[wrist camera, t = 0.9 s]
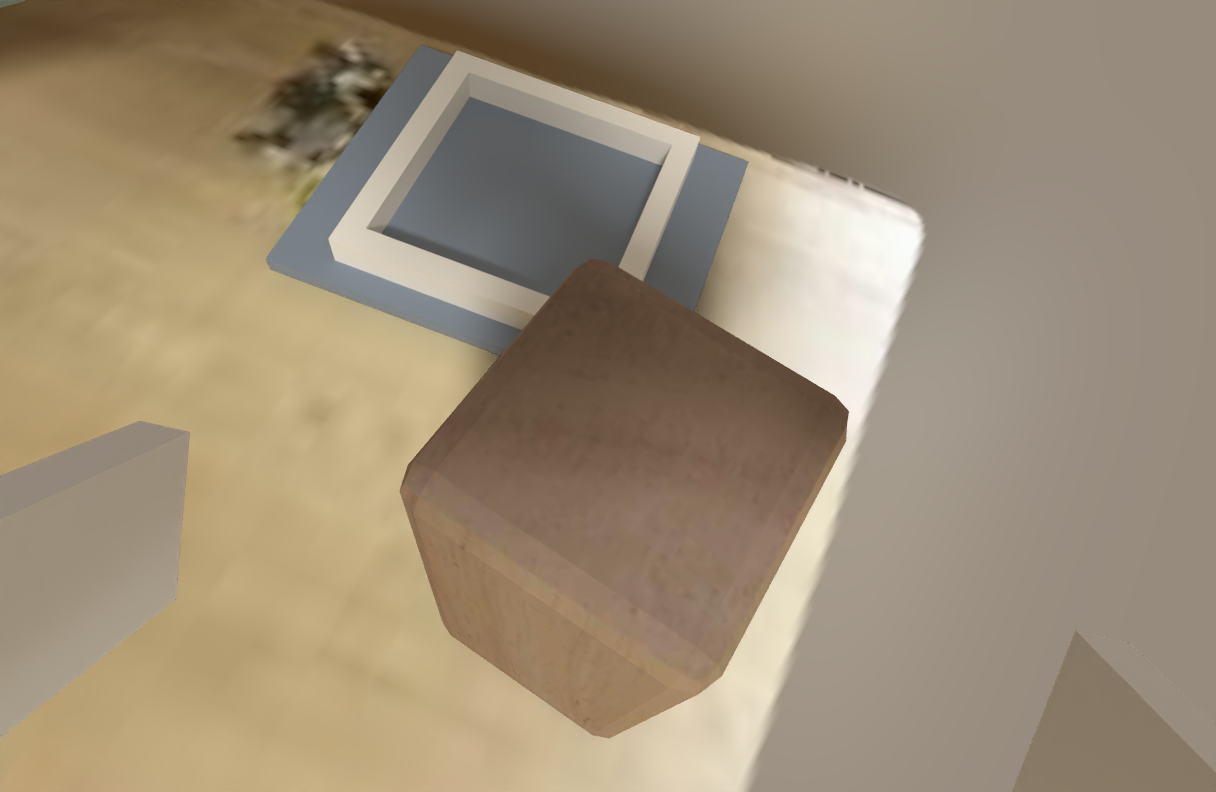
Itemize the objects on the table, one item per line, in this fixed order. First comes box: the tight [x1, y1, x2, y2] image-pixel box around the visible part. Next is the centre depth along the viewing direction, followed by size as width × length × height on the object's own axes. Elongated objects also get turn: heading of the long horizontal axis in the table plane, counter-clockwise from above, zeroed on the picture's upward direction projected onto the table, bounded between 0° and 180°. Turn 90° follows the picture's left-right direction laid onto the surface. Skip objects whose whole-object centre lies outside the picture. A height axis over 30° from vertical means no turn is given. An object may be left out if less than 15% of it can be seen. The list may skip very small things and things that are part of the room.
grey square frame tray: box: [266, 45, 748, 355], centre depth 48 cm, size 24×20×3 cm
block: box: [400, 258, 849, 738], centre depth 30 cm, size 10×10×20 cm
